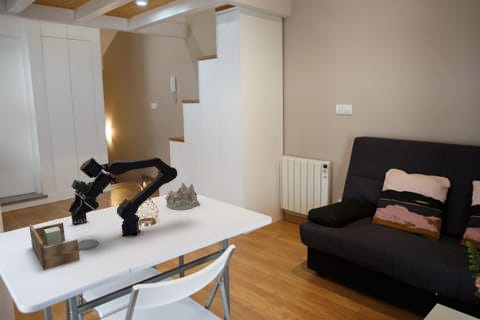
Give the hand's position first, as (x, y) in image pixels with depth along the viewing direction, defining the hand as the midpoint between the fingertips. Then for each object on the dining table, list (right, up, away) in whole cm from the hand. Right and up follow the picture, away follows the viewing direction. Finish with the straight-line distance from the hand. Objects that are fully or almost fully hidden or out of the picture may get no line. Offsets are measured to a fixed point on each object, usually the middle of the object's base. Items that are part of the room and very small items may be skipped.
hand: (71, 214), depth 150 cm
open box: (-5, -15, -3) cm, 16 cm away
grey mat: (+4, -14, +4) cm, 15 cm away
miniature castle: (+37, -4, +55) cm, 66 cm away
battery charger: (-10, -9, +30) cm, 33 cm away
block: (-5, -15, -3) cm, 16 cm away
